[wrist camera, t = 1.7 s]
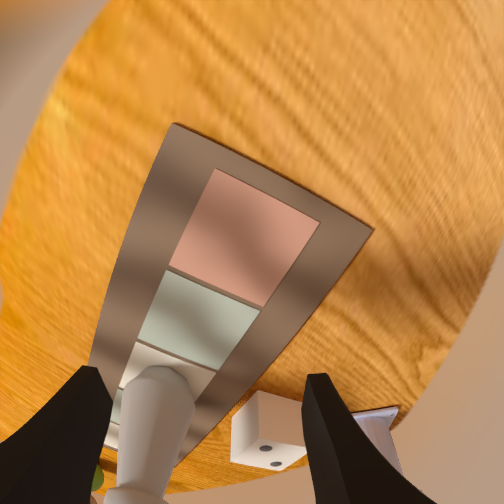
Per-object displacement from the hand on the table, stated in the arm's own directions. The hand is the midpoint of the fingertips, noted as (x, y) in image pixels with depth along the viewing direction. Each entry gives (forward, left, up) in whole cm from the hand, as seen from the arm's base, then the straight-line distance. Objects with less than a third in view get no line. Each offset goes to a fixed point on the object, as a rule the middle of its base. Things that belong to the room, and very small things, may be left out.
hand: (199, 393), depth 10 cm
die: (-16, -3, -11) cm, 20 cm away
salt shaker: (-12, +5, -10) cm, 16 cm away
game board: (-12, +5, -10) cm, 17 cm away
